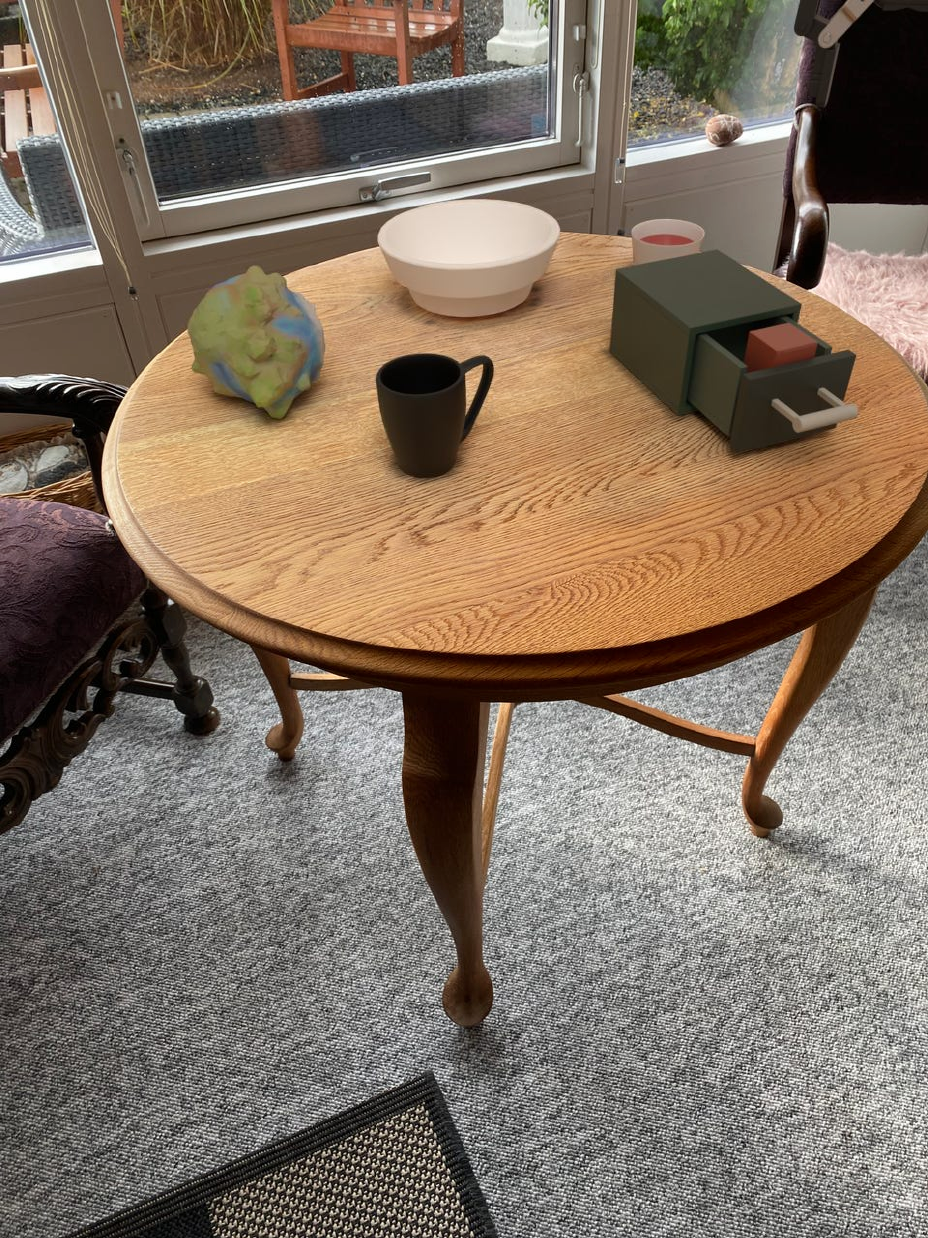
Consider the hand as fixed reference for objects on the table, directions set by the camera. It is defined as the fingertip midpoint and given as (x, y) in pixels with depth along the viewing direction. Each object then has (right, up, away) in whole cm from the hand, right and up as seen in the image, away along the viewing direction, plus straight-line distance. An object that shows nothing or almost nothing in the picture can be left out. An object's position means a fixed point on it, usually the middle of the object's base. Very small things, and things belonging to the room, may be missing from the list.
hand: (882, 108), depth 65 cm
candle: (-5, +7, +51) cm, 52 cm away
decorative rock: (-52, -14, +33) cm, 63 cm away
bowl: (-30, +4, +50) cm, 59 cm away
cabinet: (-5, -10, +34) cm, 36 cm away
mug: (-32, -21, +24) cm, 45 cm away
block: (-1, -17, +23) cm, 29 cm away
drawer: (-1, -17, +25) cm, 30 cm away
